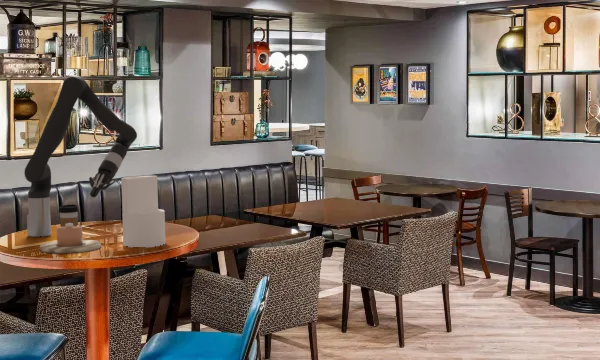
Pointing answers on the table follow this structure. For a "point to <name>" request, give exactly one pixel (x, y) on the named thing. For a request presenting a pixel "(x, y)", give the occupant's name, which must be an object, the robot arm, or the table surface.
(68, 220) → the coffee cup
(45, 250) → the serving board
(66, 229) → the knobbed pink canister
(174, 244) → the table surface
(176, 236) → the table surface
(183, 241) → the table surface
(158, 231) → the grey piece
